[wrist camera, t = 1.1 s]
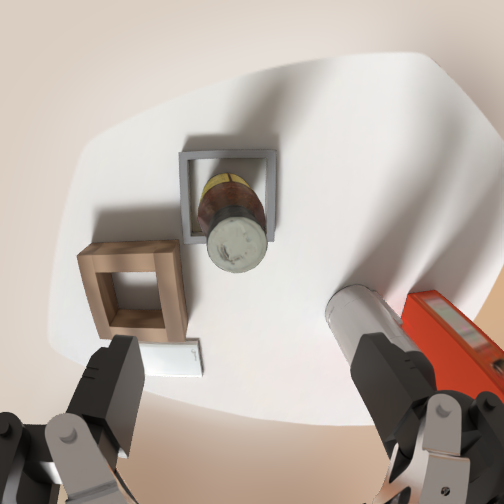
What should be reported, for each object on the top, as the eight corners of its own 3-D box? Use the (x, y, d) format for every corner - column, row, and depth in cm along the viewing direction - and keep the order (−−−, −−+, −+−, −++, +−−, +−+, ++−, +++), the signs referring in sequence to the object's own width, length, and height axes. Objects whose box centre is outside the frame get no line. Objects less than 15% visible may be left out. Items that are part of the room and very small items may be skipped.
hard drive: (197, 344, 44) (127, 343, 43) (202, 377, 47) (138, 376, 46) (198, 338, 45) (130, 337, 44) (203, 371, 48) (140, 370, 47)
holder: (178, 239, 38) (172, 252, 33) (188, 322, 43) (184, 342, 39) (91, 243, 37) (76, 255, 32) (109, 321, 42) (100, 338, 37)
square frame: (273, 150, 35) (276, 150, 33) (271, 236, 39) (274, 241, 37) (181, 151, 34) (178, 152, 32) (185, 239, 38) (183, 244, 36)
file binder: (436, 289, 46) (541, 391, 17) (412, 355, 52) (483, 458, 23) (407, 293, 46) (516, 414, 16) (384, 362, 52) (452, 478, 22)
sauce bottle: (201, 215, 37) (178, 286, 19) (205, 169, 35) (181, 195, 17) (249, 219, 38) (272, 292, 20) (255, 174, 36) (286, 204, 17)
